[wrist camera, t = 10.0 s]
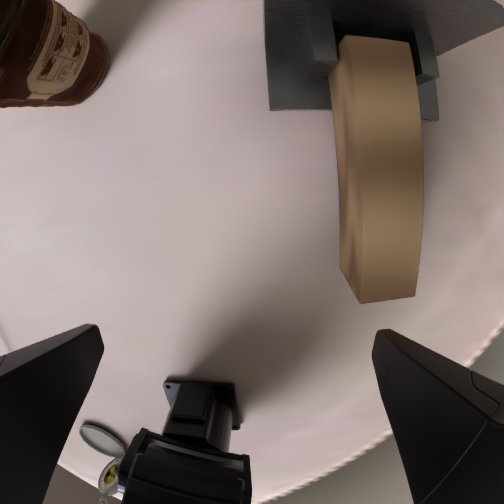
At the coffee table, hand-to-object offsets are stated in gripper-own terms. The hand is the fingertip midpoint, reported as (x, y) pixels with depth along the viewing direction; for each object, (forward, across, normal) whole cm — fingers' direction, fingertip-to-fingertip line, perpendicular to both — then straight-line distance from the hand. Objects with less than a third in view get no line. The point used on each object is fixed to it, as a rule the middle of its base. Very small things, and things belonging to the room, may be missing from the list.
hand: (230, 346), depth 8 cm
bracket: (+11, -7, -12) cm, 18 cm away
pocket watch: (+13, +19, +27) cm, 36 cm away
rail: (+11, -7, -5) cm, 15 cm away
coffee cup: (+12, +13, -14) cm, 22 cm away
